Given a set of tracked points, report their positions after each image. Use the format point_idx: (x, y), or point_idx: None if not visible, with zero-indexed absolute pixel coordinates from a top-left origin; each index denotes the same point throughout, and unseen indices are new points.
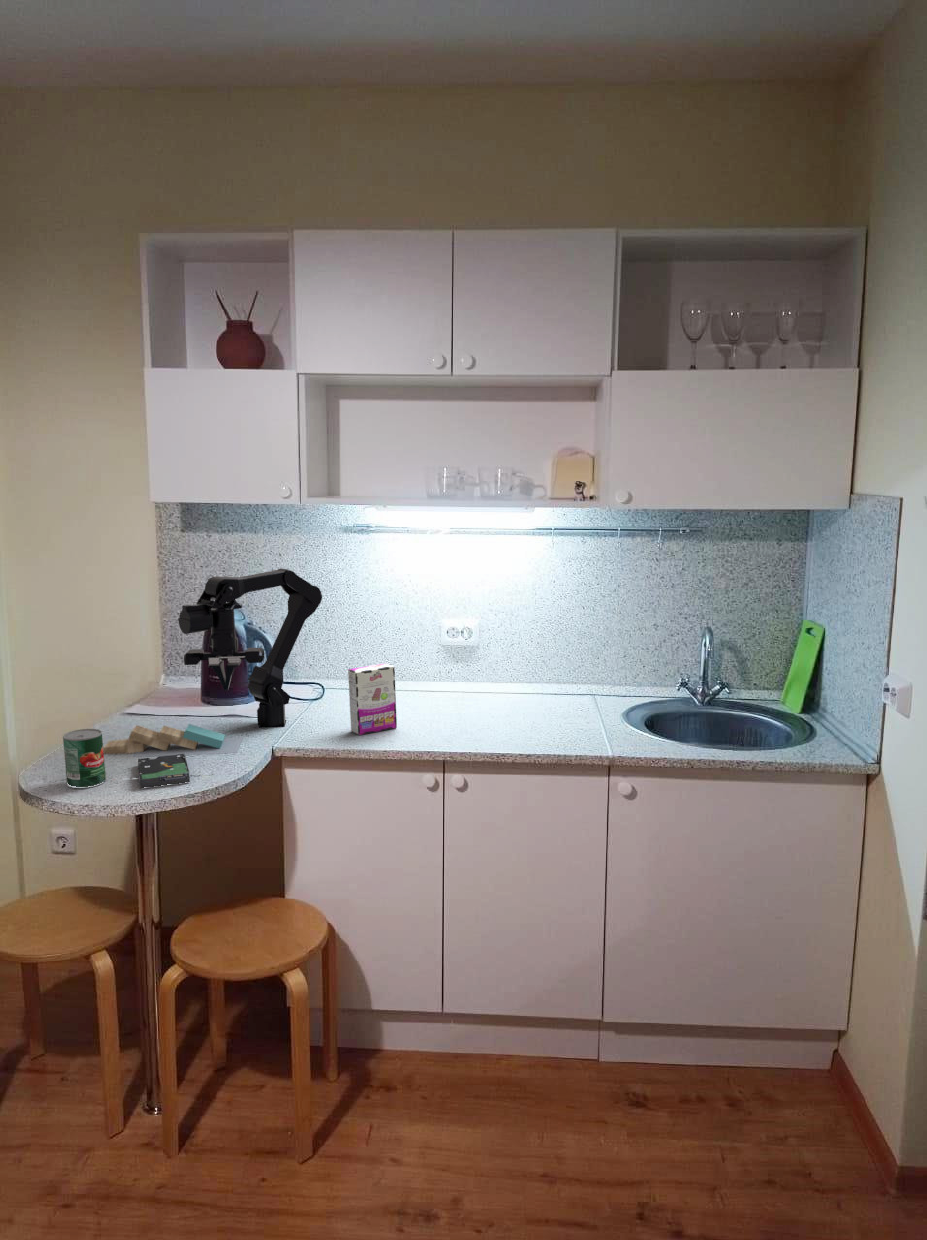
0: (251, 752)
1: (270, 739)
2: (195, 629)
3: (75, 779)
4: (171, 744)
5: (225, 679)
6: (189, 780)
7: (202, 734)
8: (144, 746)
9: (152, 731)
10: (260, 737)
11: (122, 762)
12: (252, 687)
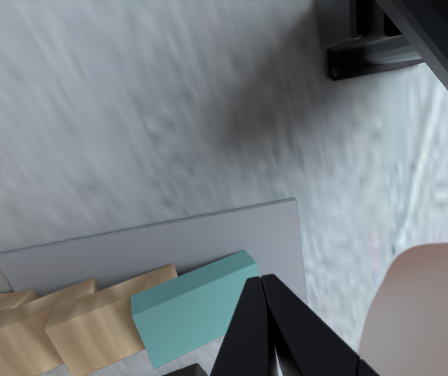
0: (340, 297)
1: (381, 190)
2: None
3: None
4: (97, 276)
5: (273, 368)
6: None
7: (206, 337)
8: None
9: (23, 330)
10: (345, 172)
11: (52, 373)
12: (441, 35)
